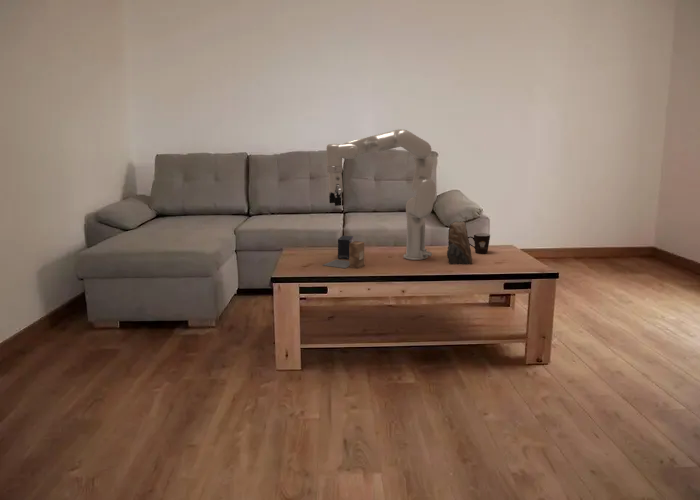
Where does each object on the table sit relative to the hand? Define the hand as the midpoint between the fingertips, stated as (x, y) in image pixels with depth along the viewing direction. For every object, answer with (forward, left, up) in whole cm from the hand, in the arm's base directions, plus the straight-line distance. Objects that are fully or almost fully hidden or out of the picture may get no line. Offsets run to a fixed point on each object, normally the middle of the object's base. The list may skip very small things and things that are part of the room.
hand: (335, 204), depth 291 cm
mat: (-4, +2, -30) cm, 30 cm away
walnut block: (-13, +2, -30) cm, 33 cm away
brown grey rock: (-55, -30, -30) cm, 69 cm away
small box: (+2, -13, -30) cm, 33 cm away
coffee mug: (-56, -56, -30) cm, 85 cm away
